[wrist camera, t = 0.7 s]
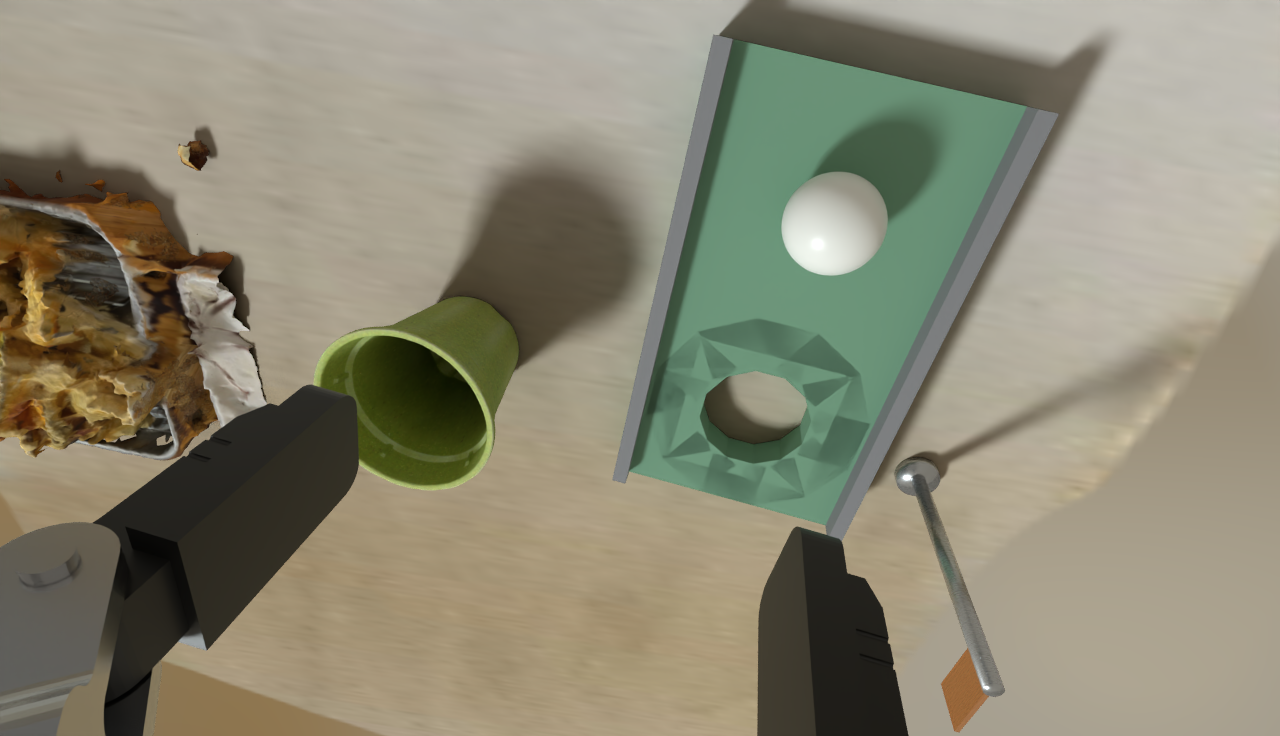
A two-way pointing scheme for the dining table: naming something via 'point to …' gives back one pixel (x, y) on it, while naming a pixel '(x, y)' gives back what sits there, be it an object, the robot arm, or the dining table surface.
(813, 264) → the ball
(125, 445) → the food tray
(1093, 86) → the dining table surface
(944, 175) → the lane
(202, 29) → the dining table surface
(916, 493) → the pin
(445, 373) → the plant pot
